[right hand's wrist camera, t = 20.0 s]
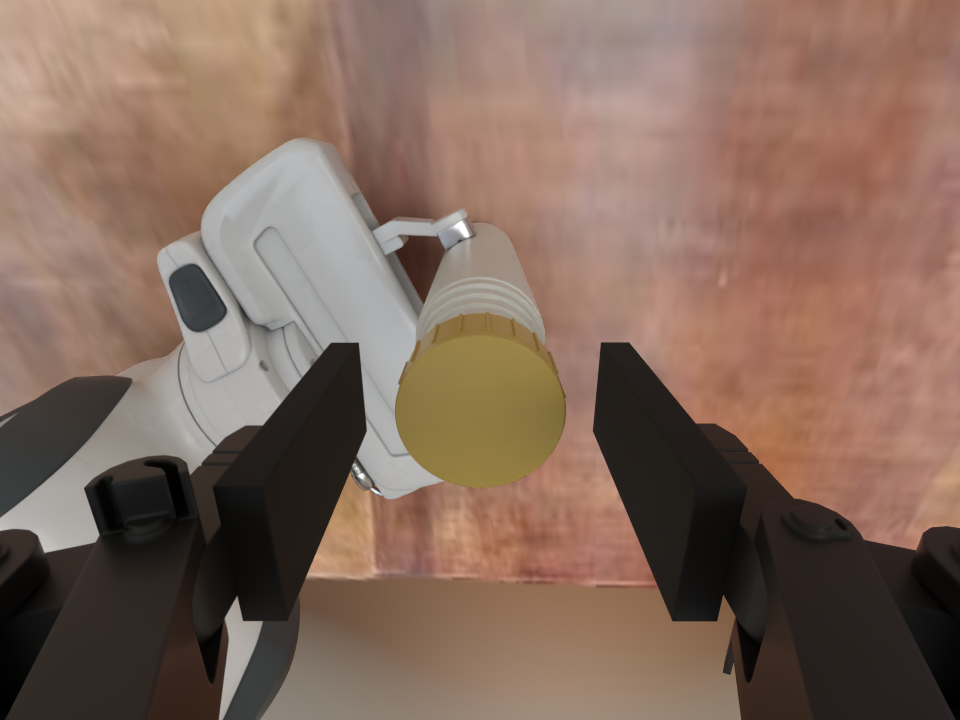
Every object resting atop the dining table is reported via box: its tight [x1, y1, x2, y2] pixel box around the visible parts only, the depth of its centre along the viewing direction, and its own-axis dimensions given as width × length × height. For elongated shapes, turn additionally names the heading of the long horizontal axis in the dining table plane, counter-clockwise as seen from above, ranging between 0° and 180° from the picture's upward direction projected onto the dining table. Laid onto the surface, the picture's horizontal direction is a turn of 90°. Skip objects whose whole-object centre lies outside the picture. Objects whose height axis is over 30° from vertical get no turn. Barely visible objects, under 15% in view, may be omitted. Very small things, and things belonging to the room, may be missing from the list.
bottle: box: [416, 222, 545, 346], centre depth 23 cm, size 5×5×22 cm
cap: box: [395, 312, 566, 488], centre depth 13 cm, size 4×4×2 cm
